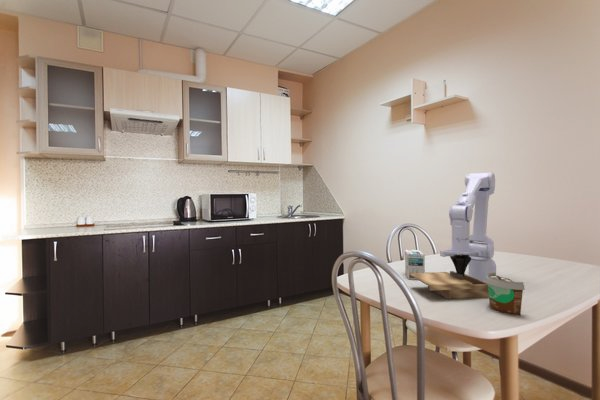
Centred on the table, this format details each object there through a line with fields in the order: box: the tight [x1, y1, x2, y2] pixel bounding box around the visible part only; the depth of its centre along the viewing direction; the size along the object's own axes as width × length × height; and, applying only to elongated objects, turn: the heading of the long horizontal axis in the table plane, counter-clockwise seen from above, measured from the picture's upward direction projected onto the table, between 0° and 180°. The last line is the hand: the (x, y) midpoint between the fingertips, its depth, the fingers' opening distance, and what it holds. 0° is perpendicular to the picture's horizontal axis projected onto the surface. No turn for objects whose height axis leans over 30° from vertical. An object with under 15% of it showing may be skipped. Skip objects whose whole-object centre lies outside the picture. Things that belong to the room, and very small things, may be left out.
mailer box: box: [427, 273, 489, 301], centre depth 112 cm, size 15×14×4 cm
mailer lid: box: [409, 270, 473, 292], centre depth 111 cm, size 15×15×3 cm
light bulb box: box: [404, 249, 426, 281], centre depth 133 cm, size 11×7×11 cm, turn 168°
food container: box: [485, 271, 526, 316], centre depth 95 cm, size 12×6×10 cm, turn 5°
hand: (460, 275), depth 112 cm, fingers closed
